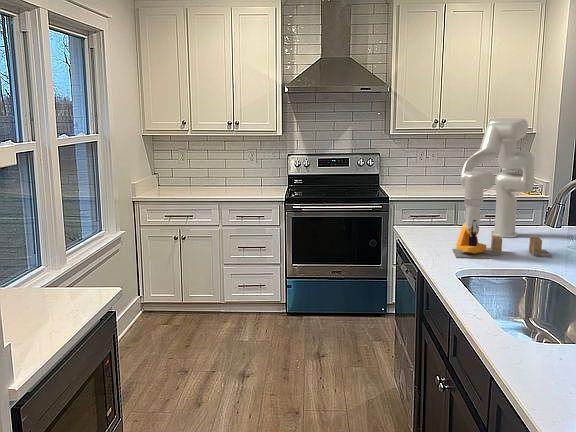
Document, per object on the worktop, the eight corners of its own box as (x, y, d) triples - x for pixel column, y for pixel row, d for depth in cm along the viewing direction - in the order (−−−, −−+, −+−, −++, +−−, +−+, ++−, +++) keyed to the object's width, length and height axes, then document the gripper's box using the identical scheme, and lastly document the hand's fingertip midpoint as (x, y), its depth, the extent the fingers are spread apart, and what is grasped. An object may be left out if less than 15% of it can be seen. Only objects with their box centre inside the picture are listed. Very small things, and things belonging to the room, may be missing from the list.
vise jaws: (480, 249, 250) (481, 234, 249) (545, 251, 246) (546, 236, 244) (484, 255, 240) (485, 239, 239) (551, 257, 236) (552, 241, 235)
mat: (452, 250, 250) (452, 248, 250) (485, 251, 248) (485, 249, 248) (456, 257, 237) (456, 256, 237) (490, 258, 234) (491, 257, 234)
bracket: (468, 254, 236) (469, 226, 234) (456, 250, 242) (457, 223, 240) (487, 251, 241) (488, 223, 239) (474, 247, 247) (475, 221, 245)
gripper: (461, 199, 247) (460, 239, 251) (467, 205, 231) (465, 248, 234) (479, 199, 246) (477, 239, 249) (486, 205, 229) (484, 249, 233)
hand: (471, 243), depth 242 cm, fingers closed on bracket, 4 cm apart
